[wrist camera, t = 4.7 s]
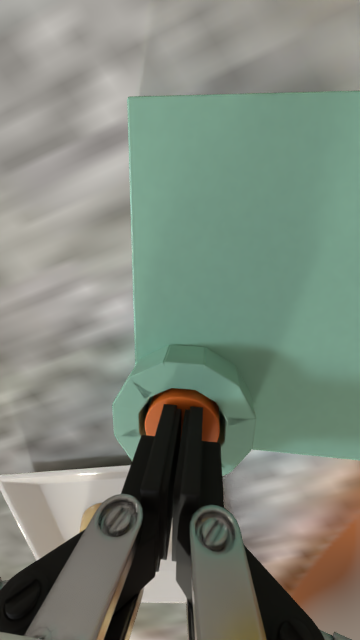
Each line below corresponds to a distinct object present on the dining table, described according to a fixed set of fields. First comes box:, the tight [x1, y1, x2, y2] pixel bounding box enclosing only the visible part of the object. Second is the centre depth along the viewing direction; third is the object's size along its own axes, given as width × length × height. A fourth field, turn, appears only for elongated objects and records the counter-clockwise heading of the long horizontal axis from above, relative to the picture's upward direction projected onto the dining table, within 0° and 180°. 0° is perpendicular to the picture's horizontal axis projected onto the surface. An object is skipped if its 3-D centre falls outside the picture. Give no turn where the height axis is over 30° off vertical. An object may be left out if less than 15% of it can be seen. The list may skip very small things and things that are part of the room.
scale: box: [112, 91, 360, 476], centre depth 11 cm, size 16×12×3 cm
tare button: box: [145, 388, 220, 442], centre depth 12 cm, size 3×3×2 cm
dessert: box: [0, 465, 186, 603], centre depth 16 cm, size 12×12×5 cm
